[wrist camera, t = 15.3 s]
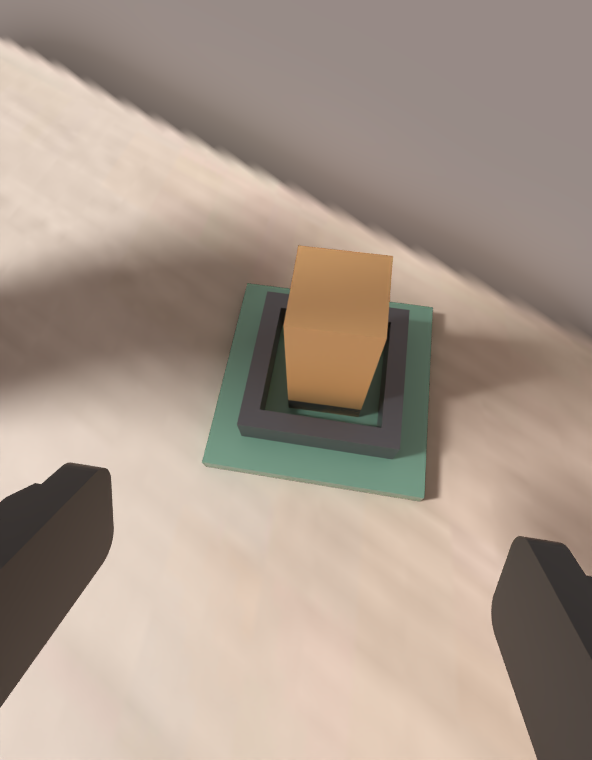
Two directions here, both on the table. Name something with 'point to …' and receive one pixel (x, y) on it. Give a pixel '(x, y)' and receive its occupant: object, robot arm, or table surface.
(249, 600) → the table surface
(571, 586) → the robot arm
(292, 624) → the table surface
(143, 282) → the table surface
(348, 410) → the tan cardboard box
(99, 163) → the table surface
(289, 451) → the board
